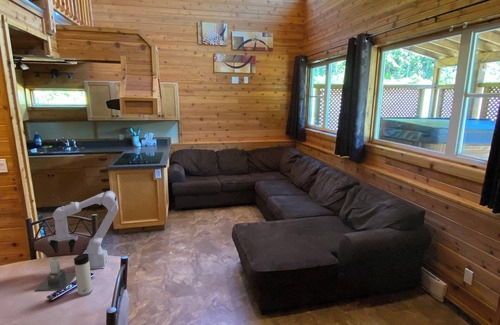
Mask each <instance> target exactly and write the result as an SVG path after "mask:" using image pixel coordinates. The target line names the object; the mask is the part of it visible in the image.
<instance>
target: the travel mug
mask: <svg viewBox="0 0 500 325" xmlns="http://www.w3.org/2000/svg"><path fill="white" fill-rule="evenodd" d="M73 261H74V262H73V263H74V273H76V276H75V280H76V287H77V288H76V289H77V295H78V296H80V297H86V296H89V295H90V294H91V293H92V292H93V285H92V284H93V283H92V282H93V281H92V275H91V269H90V264H89V256H88V253H81V254H78V255H76V256H75V257H73Z"/></svg>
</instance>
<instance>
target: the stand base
mask: <svg viewBox="0 0 500 325" xmlns="http://www.w3.org/2000/svg"><path fill="white" fill-rule="evenodd" d="M60 270H61V272H60V273H59V274H58V275H51V271H50V272H49V273H48V274H47V276H46V278H44V280H42V282H40V283H39V285H38V286H37V287H36V288H35V289H34V292H46V291H47V292H48V291H63V290H62V289H65V288H66V287H67V286H70V284H71V283H72V281H73V280H74V279H76V273H75V272H66V269H65V268H62V269H61V268H60ZM67 288H68V287H67ZM67 288H66V289H67ZM66 289H65V290H66Z"/></svg>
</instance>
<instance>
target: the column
mask: <svg viewBox="0 0 500 325" xmlns="http://www.w3.org/2000/svg"><path fill="white" fill-rule="evenodd" d="M49 267H50V272H51V275H58V274H59V273H60V272H61V270H60V269H61V266H60V258H59V256H58V257H57V256H56V257H51V258H50V259H49Z"/></svg>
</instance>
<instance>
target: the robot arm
mask: <svg viewBox="0 0 500 325" xmlns="http://www.w3.org/2000/svg"><path fill="white" fill-rule="evenodd" d="M95 204H96V205H99V206H101V205H103V206H104V207H105V209H107V213H106V215H105V217H104V218H103V220H102V222H101V223H100V226H99V227H98V229H97V231H96V233H95V234H94V236H93V237H91V238H90V239H89V243H88V245H87V247H86V251H87V254H88V256H89V264H90V270H91V269H105V267H106V266H107V264H108V263H109V255H108V250H106V249H103V247H102V246H101V245H102V241H103V239H104V238H105V235H106V234H107V232H108V230H109V228H110V227H111V225H112V223H113V221H114V220H115V218H116V216H117V214H118V212H119V203H118V196H117V195H116V193H115V191H112V190H107V191H105V192H101V193H99V194H96V195H95V196H91V197H90V198H87V199H85V200H83V201H80V202H79V201H75V202H74V201H70V203H69V204H66V205H62V206H61V207H60V206H59V207H57V208H56V209H55V210H54V212H53V213H52V216H51V217H52V218H53V219H54V226H55V227H54V228H55V235H54V236H48V237H47V242H49V243H48V244H49V246H50V247H51V249H53V251H54V253H55V254H56V255H57V254H58V253H59V251H60V250H59V243H60V242H62V241H68V242H67V244H68V246H69V252H70V254H72V253H73V252H74V248H75V245H76V242H77V241H78V239H79V236H78V235H72V234H69V227H68V226H69V225H68V220H67V219H68V218H67V217H70V216H72V215H75V214H78V213H80V212H81V211H82V209H84V208H87V207H89V206H93V205H95Z"/></svg>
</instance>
